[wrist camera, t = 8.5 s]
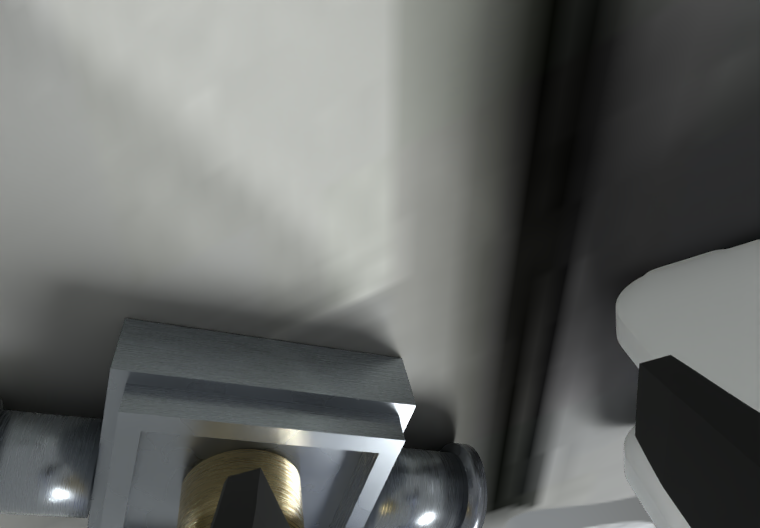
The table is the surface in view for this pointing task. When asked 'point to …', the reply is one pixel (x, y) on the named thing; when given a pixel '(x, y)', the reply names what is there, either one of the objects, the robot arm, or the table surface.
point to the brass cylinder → (212, 472)
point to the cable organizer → (693, 341)
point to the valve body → (239, 436)
